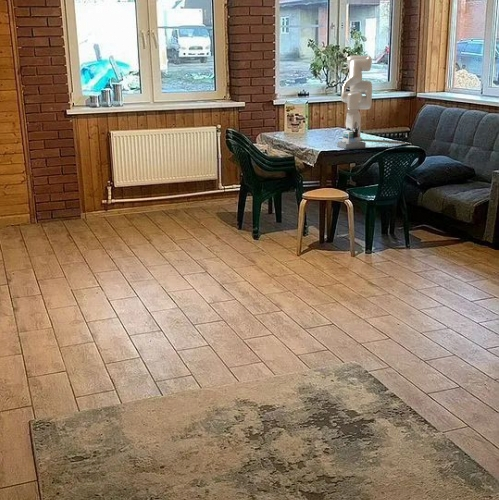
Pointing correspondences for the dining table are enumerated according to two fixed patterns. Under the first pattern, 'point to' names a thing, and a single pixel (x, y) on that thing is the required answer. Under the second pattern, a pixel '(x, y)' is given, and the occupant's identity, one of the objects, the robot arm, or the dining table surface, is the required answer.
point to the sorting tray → (351, 145)
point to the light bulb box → (350, 137)
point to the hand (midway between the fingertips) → (351, 136)
